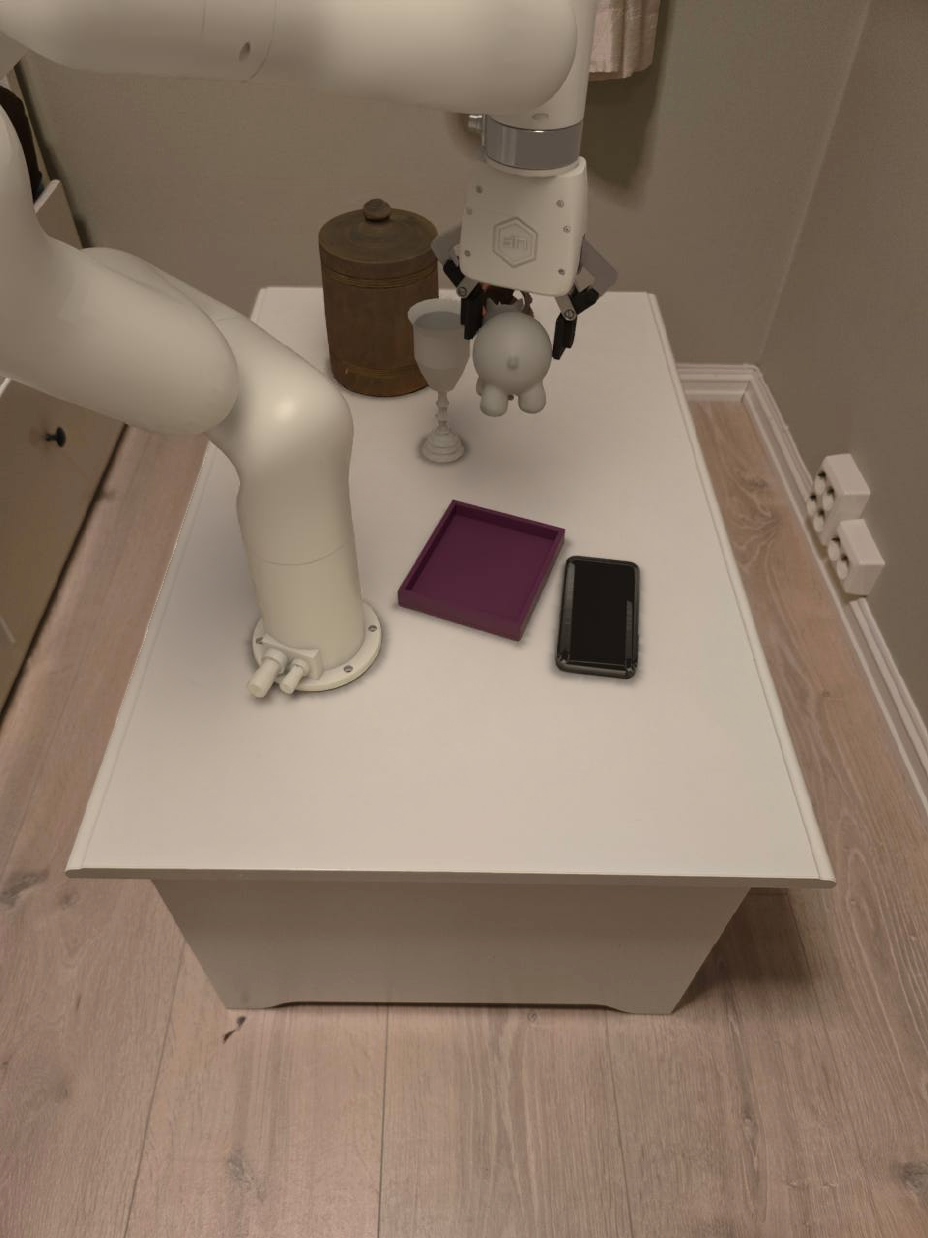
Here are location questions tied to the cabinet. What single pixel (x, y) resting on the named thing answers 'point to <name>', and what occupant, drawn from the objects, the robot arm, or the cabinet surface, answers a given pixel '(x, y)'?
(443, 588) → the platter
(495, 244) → the robot arm
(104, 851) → the cabinet surface
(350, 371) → the wooden container
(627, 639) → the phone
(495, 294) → the pottery mug
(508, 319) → the chubby cartoon animal
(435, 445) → the chalice
